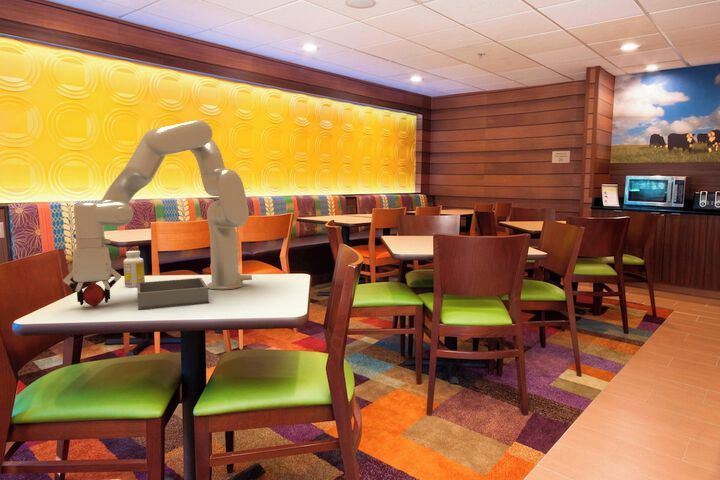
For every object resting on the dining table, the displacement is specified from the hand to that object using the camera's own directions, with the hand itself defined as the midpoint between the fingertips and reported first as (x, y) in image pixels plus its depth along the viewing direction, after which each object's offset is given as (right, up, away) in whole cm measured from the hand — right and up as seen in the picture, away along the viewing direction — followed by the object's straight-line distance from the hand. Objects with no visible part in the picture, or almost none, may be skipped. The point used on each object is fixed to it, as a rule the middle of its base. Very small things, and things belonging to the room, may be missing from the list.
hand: (94, 302), depth 146 cm
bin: (+20, 0, +8) cm, 22 cm away
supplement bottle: (-3, +2, +32) cm, 32 cm away
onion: (0, -2, 0) cm, 2 cm away
